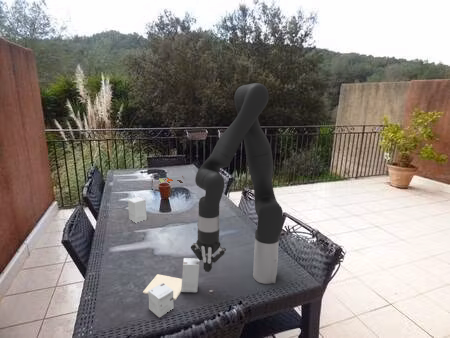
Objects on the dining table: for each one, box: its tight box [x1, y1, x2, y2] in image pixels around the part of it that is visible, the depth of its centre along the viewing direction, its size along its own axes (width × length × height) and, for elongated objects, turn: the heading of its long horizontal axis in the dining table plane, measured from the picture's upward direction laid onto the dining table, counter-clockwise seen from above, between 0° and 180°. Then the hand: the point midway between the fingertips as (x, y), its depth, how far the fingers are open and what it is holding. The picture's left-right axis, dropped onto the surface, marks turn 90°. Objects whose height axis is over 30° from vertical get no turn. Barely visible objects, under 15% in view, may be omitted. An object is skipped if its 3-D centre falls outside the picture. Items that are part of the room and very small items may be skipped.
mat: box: [142, 273, 182, 301], centre depth 108 cm, size 13×11×1 cm
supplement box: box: [127, 196, 148, 224], centre depth 163 cm, size 7×7×13 cm
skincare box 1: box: [147, 283, 174, 318], centre depth 96 cm, size 6×6×7 cm
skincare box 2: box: [181, 257, 201, 293], centre depth 105 cm, size 6×4×12 cm
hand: (207, 270), depth 103 cm, fingers closed
